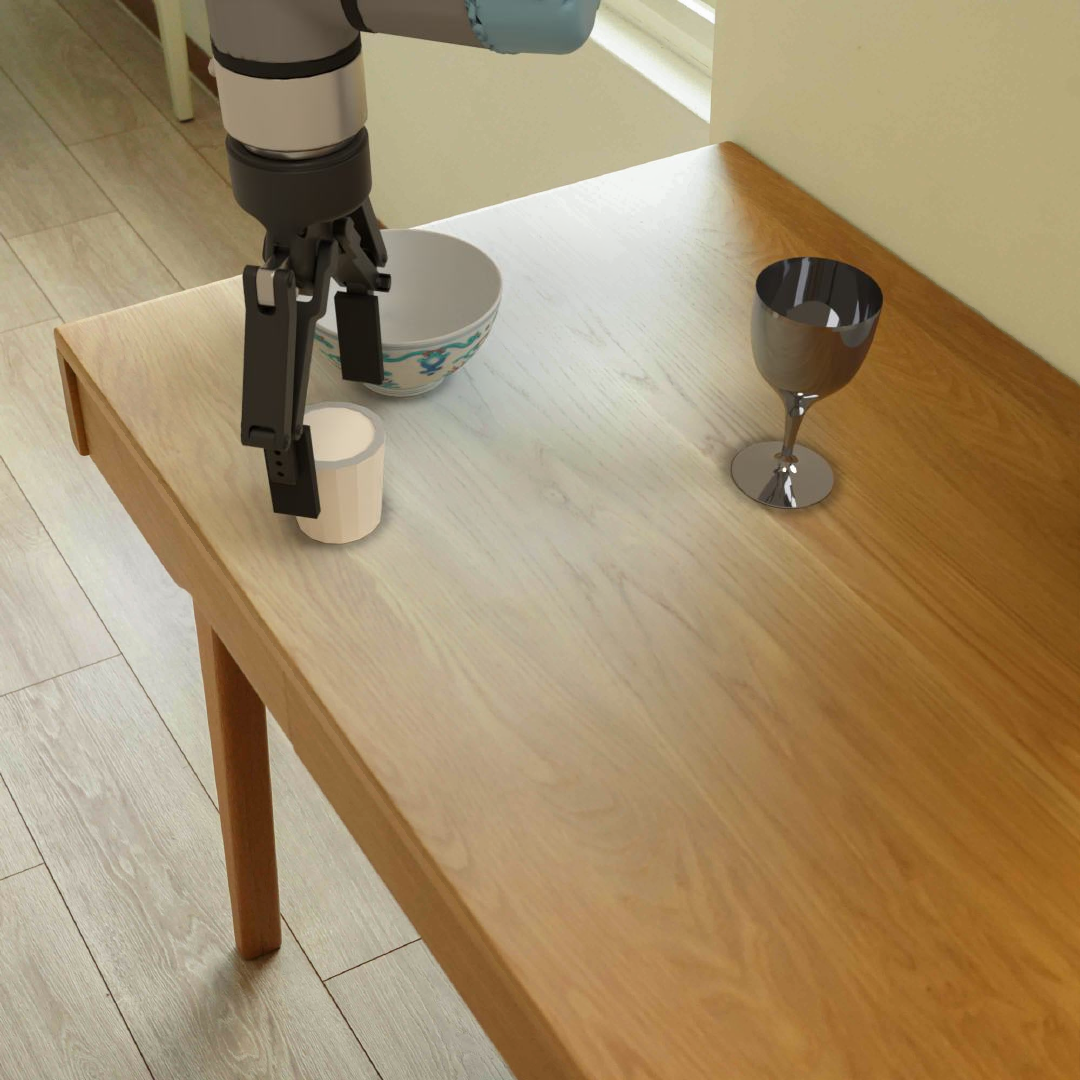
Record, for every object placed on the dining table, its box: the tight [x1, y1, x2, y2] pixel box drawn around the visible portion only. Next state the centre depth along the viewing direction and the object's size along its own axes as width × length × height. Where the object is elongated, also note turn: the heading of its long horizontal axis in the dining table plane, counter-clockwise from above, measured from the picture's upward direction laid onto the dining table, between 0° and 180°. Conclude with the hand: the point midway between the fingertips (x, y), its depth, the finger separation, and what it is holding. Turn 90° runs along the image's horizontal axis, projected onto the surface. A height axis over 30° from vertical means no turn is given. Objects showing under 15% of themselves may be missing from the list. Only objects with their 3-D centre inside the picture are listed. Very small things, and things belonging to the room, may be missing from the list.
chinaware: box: [296, 228, 504, 398], centre depth 99 cm, size 15×15×8 cm
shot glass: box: [295, 400, 387, 545], centre depth 87 cm, size 7×7×7 cm
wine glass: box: [731, 256, 884, 509], centre depth 89 cm, size 8×8×15 cm
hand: (332, 442), depth 85 cm, fingers open, 13 cm apart
